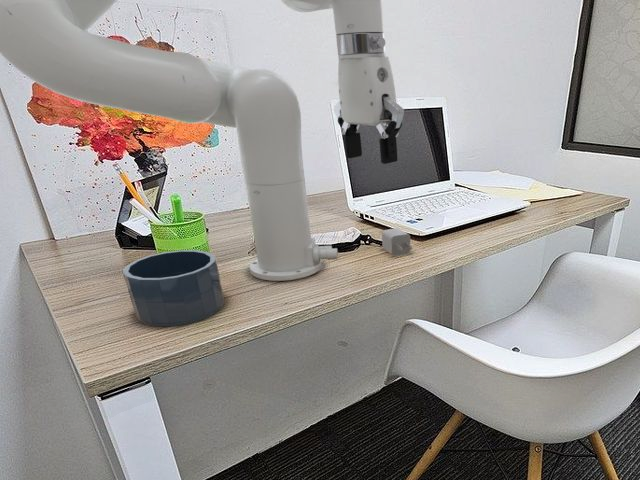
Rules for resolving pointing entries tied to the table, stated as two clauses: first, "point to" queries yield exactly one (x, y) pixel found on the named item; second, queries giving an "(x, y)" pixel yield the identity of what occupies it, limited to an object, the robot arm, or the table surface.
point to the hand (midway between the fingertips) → (371, 159)
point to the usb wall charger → (396, 242)
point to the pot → (174, 287)
